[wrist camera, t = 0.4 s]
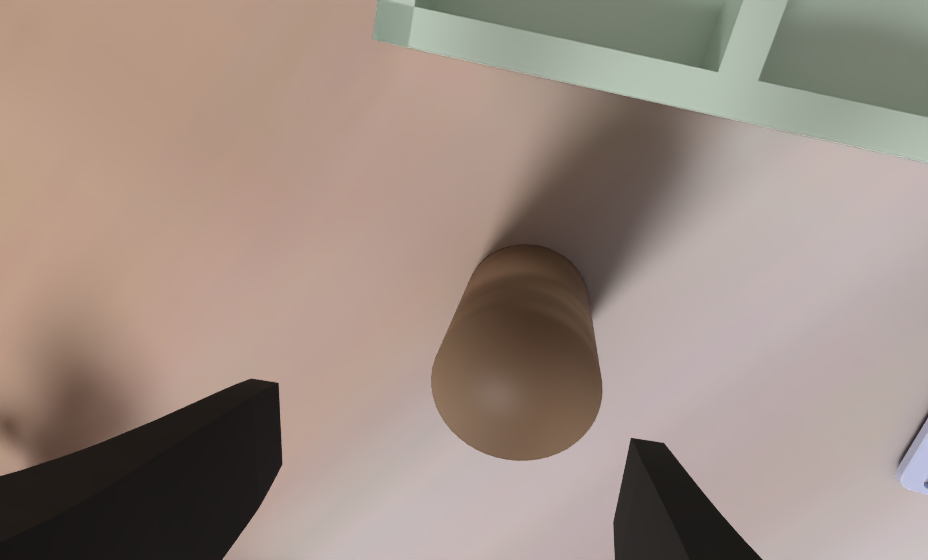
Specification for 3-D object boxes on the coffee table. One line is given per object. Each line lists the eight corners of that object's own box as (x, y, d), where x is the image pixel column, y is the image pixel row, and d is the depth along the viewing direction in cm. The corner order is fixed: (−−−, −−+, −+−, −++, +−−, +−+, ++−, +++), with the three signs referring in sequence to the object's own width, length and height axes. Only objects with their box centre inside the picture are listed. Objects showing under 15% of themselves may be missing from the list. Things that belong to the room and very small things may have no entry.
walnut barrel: (604, 261, 19) (625, 335, 13) (569, 371, 20) (575, 479, 15) (479, 231, 19) (449, 290, 14) (454, 341, 21) (417, 435, 15)
